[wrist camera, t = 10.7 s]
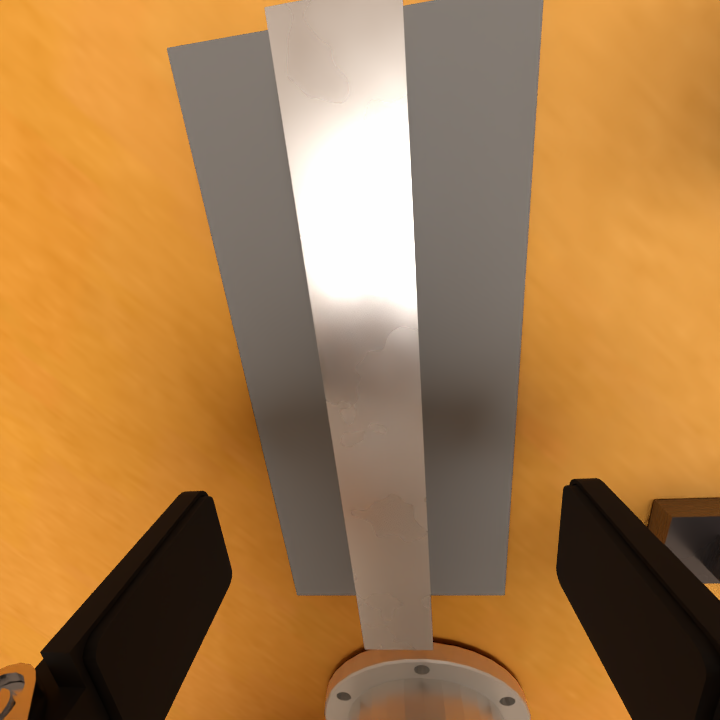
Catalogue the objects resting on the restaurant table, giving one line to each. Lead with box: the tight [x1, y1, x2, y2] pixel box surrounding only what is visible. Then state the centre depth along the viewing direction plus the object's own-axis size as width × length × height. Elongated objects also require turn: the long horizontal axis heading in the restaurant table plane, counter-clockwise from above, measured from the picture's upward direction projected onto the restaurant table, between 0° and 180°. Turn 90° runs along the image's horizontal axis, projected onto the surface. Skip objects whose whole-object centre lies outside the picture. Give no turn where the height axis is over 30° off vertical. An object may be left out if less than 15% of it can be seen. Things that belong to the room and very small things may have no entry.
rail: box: [265, 0, 433, 650], centre depth 12 cm, size 22×3×3 cm, turn 6°
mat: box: [167, 0, 543, 595], centre depth 14 cm, size 24×11×1 cm, turn 6°
